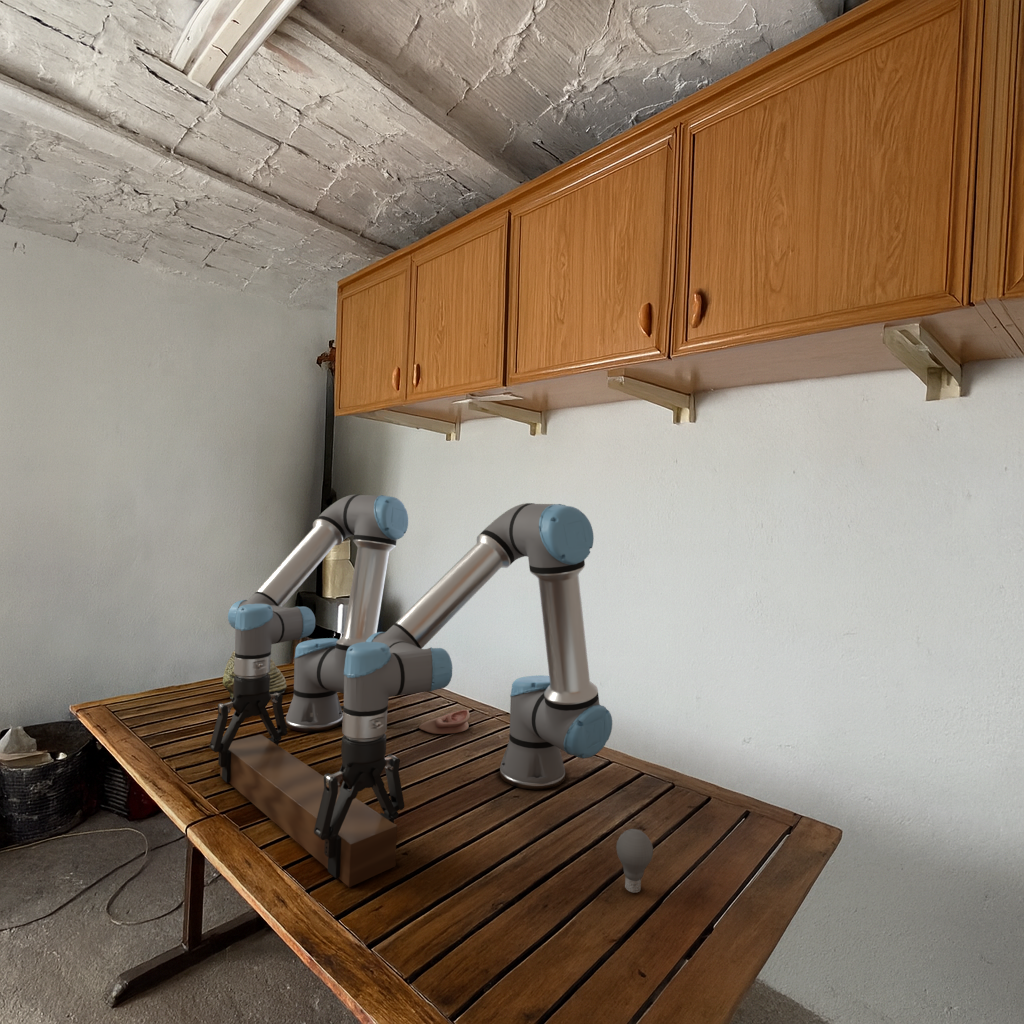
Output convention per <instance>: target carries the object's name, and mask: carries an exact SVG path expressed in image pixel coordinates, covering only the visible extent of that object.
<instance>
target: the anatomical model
mask: <svg viewBox="0 0 1024 1024" xmlns="http://www.w3.org/2000/svg"><path fill="white" fill-rule="evenodd" d="M470 715H471V714H470V711H469V710H468V709H461V710H457V711H454V712H450V713H447V714H445V715H442V716H439V717H437V718H436V717H435V718H432V719H429V720H427V721H424V722H422V723H421V724H420V725H419V726H418V728H419V730H421V731H423V732H427V733H430V734H434V735H445V734H447V735H448V734H455V733H456V734H457V733H462V732H465V731H467V730H468V729H469V726H470V724H469V722H468V721H469V720H470V717H471V716H470Z"/></svg>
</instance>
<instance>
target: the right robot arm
mask: <svg viewBox="0 0 1024 1024" xmlns="http://www.w3.org/2000/svg"><path fill="white" fill-rule="evenodd" d="M594 537H595V536H594V530H593V526H592V523H591V521H590V519H589V518H588V516H587V515H586V514H585V513H584V512H583V511H582V510H580V509H579V508H576V507H574V506H571V505H566V504H561V503H535V502H533V503H532V502H525V503H522V504H517V505H515V506H513V507H511V508H509V509H507V510H506V511H505V512H503V513H502V514H501V515H499V516H498V517H497V518H495V519H494V520H493V521H492V522H491V523H490V524H488V525H487V526H486V527H485V528H484V529H483V530H482V531H481V532H480V533H479V534H478V535H477V536H476V543H475V545H473V546H472V547H471V548H470V549H469V550H468V551H467V552H466V553H465V554H464V555H463V556H462V557H461V558H460V559H459V560H458V561H457V562H456V563H454V565H453V566H452V567H451V568H450V569H449V570H448V571H447V572H446V573H445V574H444V575H442V577H441V578H440V579H438V580H437V582H435V584H433V586H431V587H430V588H429V589H428V591H426V592H425V593H424V594H423V595H422V597H420V598H419V599H418V600H417V601H416V602H415V603H414V604H413V605H412V606H411V607H410V608H409V609H408V610H407V611H406V612H405V613H404V614H403V615H401V616H400V618H398V619H397V621H396V622H395V623H393V625H391V626H390V627H389V628H388V629H387V631H377V633H375V634H373V635H371V636H370V637H369V638H368V639H367V640H366V642H360V643H356V644H353V645H351V646H350V647H349V648H348V649H347V652H346V658H345V668H344V694H343V705H342V706H343V709H342V712H343V722H342V723H341V726H342V727H341V733H342V737H341V752H340V757H341V765H340V769H339V770H338V771H337V772H335V773H332V774H331V773H328V772H327V773H325V774H324V775H323V776H324V791H323V795H322V799H321V803H320V808H319V812H318V816H317V820H316V824H315V828H314V834H316V835H317V836H318V837H319V838H320V839H322V840H325V845H324V853H325V855H326V856H327V857H328V869H327V873H329V874H330V875H331V876H332V877H333V878H335V879H339V878H338V877H340V860H341V837H339V836H338V833H339V831H340V828H341V826H342V824H343V821H344V819H345V817H346V815H347V812H348V810H349V808H350V805H351V803H352V801H353V799H355V798H356V799H357V796H358V794H359V792H362V791H363V790H365V789H370V788H371V789H372V791H373V793H374V795H375V797H376V799H377V802H378V804H379V806H380V807H381V810H382V812H381V813H379V814H380V815H382V816H383V817H385V818H386V819H388V820H389V821H391V822H392V823H394V824H395V819H397V818H398V817H399V811H403V810H404V809H405V800H404V795H403V788H402V783H401V782H402V781H401V777H400V772H399V770H400V763H401V760H400V758H399V757H396V756H395V755H393V754H391V753H389V754H388V755H387V756H386V754H387V734H386V732H387V731H388V730H387V728H388V709H389V698H391V697H398V696H405V695H406V696H407V695H412V694H419V693H426V692H429V693H431V692H434V691H437V690H442V689H445V688H447V687H448V686H449V684H450V683H451V680H452V678H453V662H452V658H451V656H450V654H449V652H448V651H447V650H446V649H445V648H443V647H428V648H424V647H425V646H426V645H427V644H428V643H429V642H430V641H431V640H432V639H433V638H434V637H435V636H436V635H437V634H438V633H439V632H440V631H441V630H442V629H443V628H444V627H445V626H446V625H447V624H448V623H449V622H450V620H451V619H453V618H454V617H455V615H457V613H458V612H459V611H460V610H461V609H462V608H463V607H464V606H465V605H466V604H467V603H468V602H469V601H470V600H471V599H472V598H473V597H474V596H476V594H477V593H478V592H479V591H480V590H481V589H482V588H483V587H484V586H485V585H487V583H488V582H489V581H490V580H491V579H492V578H493V577H494V576H495V575H496V574H497V573H498V572H499V571H500V570H501V569H508V568H509V567H510V566H511V565H512V564H513V563H514V562H516V561H517V560H518V559H521V558H523V557H527V558H528V568H529V572H530V574H532V575H533V576H534V577H535V578H537V582H538V590H539V599H540V600H539V601H540V607H541V617H542V626H543V634H544V644H545V652H546V661H547V670H548V675H544V674H543V675H527V676H526V675H525V676H522V677H518V678H516V679H515V680H514V681H513V682H512V684H511V690H510V694H509V697H510V704H509V707H510V710H509V735H508V743H507V746H506V748H505V752H504V754H503V757H502V760H501V762H500V766H499V777H500V778H501V779H502V780H503V781H504V782H505V783H507V784H509V785H511V786H513V787H516V788H520V789H525V790H526V789H527V790H547V789H551V788H555V787H558V786H560V785H561V784H562V783H564V781H565V780H566V768H565V767H566V766H565V763H564V760H563V756H562V752H561V751H563V752H564V753H566V754H567V755H570V756H575V757H576V758H578V759H589V758H592V757H594V756H596V755H597V754H599V753H600V752H601V751H602V750H603V749H604V747H605V746H606V743H607V742H608V741H609V739H610V736H611V734H612V730H613V716H612V714H611V712H610V711H609V709H607V708H606V706H605V705H602V704H601V703H600V696H599V689H598V686H597V685H596V684H594V682H592V681H591V678H590V669H589V661H588V651H587V642H586V641H587V640H586V633H585V631H586V630H585V622H584V621H585V620H584V614H583V612H584V611H583V604H582V603H583V602H582V595H581V584H580V574H581V572H582V571H583V570H584V568H585V567H586V563H585V561H586V559H587V558H588V557H589V555H590V554H591V549H593V546H594V540H595V539H594ZM385 756H386V757H385ZM384 769H385V776H386V782H387V786H388V792H389V793H388V792H387V789H386V787H385V782H384V780H383V778H382V776H381V775H382V773H383V771H384ZM341 781H342V783H341ZM338 787H340V794H339V797H338V799H337V794H338ZM336 799H337V801H336Z"/></svg>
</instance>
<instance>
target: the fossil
mask: <svg viewBox="0 0 1024 1024" xmlns="http://www.w3.org/2000/svg"><path fill="white" fill-rule="evenodd" d="M234 661H235V650H233V651H232V653H231V656H230V657H229V659H228V660H227V663H226V666H225V668H224V671H223V675H222V676H223V677H222V685H223V687H224V688H225V690H226V691H228V693H229V698H230V699H233V696H234V694H233V687H234V677H235V676H236V675H235V674H234ZM268 674H269V675H270V689H269V693H270V694H274V693H275V692H277V693H279V694H284V693H285V691H286V689H287V687H288V686H287V680H286V678H285V676H284V674H283V673H282V672H281V669H279V668H278V667H277V665H276V663H275V662H274V660H273V659H272V658H271V662H270V672H269V673H268Z"/></svg>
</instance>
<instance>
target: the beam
mask: <svg viewBox="0 0 1024 1024" xmlns="http://www.w3.org/2000/svg"><path fill="white" fill-rule="evenodd" d="M228 750H229V751H230V752H231V775H230V782H228V784H229V785H230V786H231V787H233V788H234V789H235V790H236V791H237V792H239V793H240V794H241V795H242V796H243V797H244V798H246V800H248V801H249V802H250V803H251V804H252V805H253V806H255V807H256V808H257V809H258V810H260V811H261V812H262V813H263V814H264V815H265V816H266V817H267V818H269V819H270V821H272V822H273V823H274V824H276V826H277V827H279V828H280V829H281V830H282V831H284V833H286V835H288V836H289V837H290V838H292V840H294V841H295V842H296V843H297V844H298V845H299V846H301V847H302V848H303V849H304V850H305V851H306V852H308V854H310V855H311V856H312V857H313V858H314V859H315V860H317V861H318V862H319V863H320V864H321V865H323V867H325V868H326V869H327V870H328V857H327V856H326V855H325V853H324V845H325V840H322V839H320V838H319V837H318V836H317V835H316V834H314V828H315V824H316V820H317V816H318V812H319V808H320V803H321V799H322V795H323V791H324V775H323V774H320V772H318V771H316V770H315V769H313V768H312V767H310V766H309V765H308V764H307V763H304V762H303V761H301V760H300V759H299V758H297V757H295V756H294V755H293V754H291V753H290V752H289V751H287V750H285V749H284V748H282V747H281V746H280V745H279V746H278V745H276V744H275V743H273V742H272V741H270V740H269V739H267V737H266V736H264V735H263V734H256V735H252V736H248V737H244V738H239V739H235V740H233V741H232V743H231V745H230V747H229V749H228ZM219 767H220V766H219ZM219 769H220V770H219V776H220V777H222V767H220V768H219ZM340 788H341V786H340V787H338V794H337V799H338V797H339V794H340ZM337 799H336V801H337ZM380 814H381V813H379V812H377V811H376V810H374V809H373V808H372V807H370V806H369V805H367V804H366V803H364V802H362V801H361V800H360V799H358V798H357V797H356V798H355V799H353V801H352V803H351V805H350V808H349V810H348V812H347V815H346V817H345V819H344V821H343V824H342V826H341V828H340V831H339V833H338V836H339V837H341V860H340V877H338V878H337V879H338V880H340V881H341V883H343V884H344V885H346V887H348V888H351V887H354V886H356V885H358V884H360V883H363V882H364V881H366V880H369V879H370V878H373V877H375V876H377V875H380V874H381V873H384V872H386V871H389V870H390V869H393V868H395V867H396V859H397V838H398V837H397V835H398V833H397V832H398V825H397V824H395V822H394V823H392V822H391V821H389V820H388V819H386V818H385V817H383V816H382V815H380Z"/></svg>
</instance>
